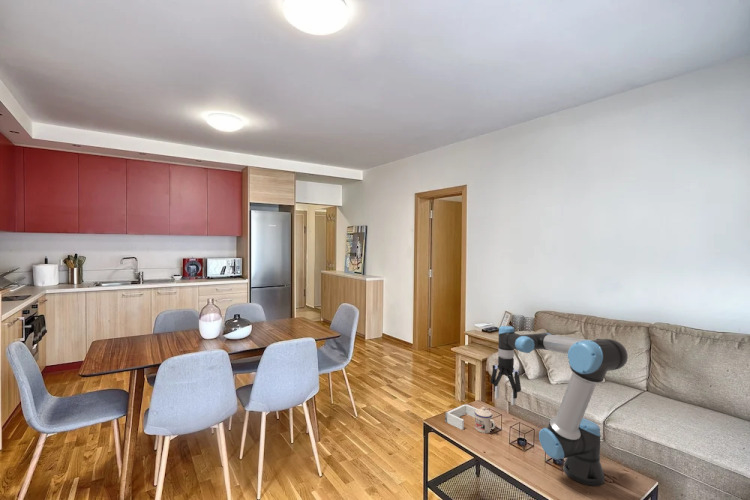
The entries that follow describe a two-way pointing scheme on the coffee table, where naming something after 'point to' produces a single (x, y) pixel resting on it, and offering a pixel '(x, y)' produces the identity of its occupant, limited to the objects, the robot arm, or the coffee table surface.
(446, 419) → the cradle
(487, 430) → the teacup with lid
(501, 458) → the coffee table surface
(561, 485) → the coffee table surface
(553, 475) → the coffee table surface
